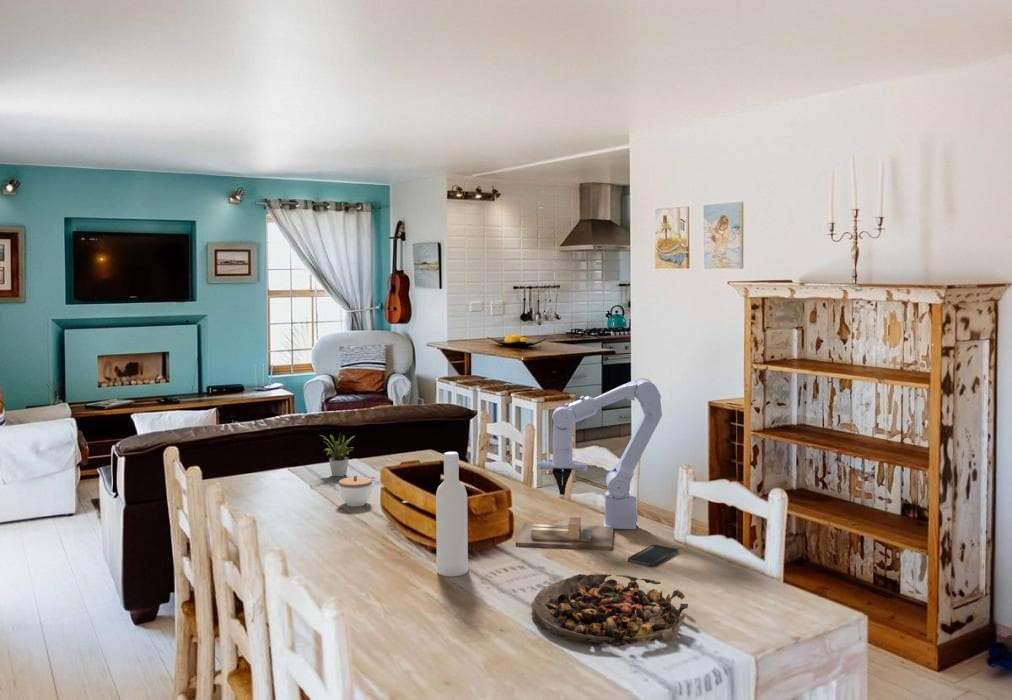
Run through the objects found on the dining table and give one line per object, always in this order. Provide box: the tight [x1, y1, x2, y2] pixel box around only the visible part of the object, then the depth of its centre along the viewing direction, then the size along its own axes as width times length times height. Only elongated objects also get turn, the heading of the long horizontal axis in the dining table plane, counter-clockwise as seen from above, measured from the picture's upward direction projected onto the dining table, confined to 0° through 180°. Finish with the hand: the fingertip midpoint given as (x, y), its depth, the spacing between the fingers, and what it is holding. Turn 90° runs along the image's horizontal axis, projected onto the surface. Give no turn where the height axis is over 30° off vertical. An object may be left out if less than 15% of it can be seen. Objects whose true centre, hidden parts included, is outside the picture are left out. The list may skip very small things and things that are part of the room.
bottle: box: [435, 451, 469, 578], centre depth 213 cm, size 8×8×30 cm
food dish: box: [530, 573, 689, 647], centre depth 186 cm, size 35×33×8 cm
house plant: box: [319, 434, 355, 477], centre depth 317 cm, size 14×14×16 cm
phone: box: [627, 544, 680, 568], centre depth 225 cm, size 8×1×15 cm
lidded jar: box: [338, 474, 373, 507], centre depth 278 cm, size 11×11×9 cm
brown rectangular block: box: [567, 516, 582, 541], centre depth 238 cm, size 3×6×5 cm, turn 172°
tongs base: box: [515, 523, 614, 551], centre depth 241 cm, size 26×18×4 cm
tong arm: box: [532, 523, 568, 529], centre depth 240 cm, size 13×2×2 cm, turn 78°
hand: (562, 494), depth 252 cm, fingers closed
